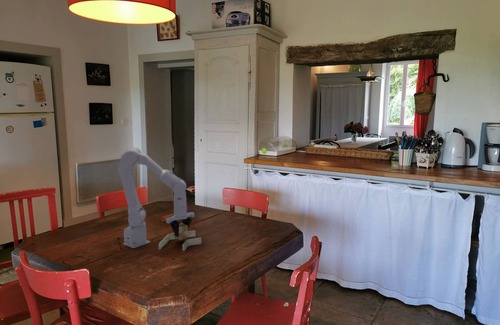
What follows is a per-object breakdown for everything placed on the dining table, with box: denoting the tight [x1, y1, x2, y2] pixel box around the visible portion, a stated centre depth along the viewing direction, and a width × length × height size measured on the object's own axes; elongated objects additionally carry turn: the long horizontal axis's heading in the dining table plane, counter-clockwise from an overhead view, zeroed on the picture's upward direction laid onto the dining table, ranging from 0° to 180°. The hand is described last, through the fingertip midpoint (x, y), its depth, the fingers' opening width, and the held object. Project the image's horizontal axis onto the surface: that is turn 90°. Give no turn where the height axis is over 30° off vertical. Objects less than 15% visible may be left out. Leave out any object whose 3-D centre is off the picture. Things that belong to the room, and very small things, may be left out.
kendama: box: [159, 205, 190, 223], centre depth 208 cm, size 6×6×20 cm
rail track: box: [158, 230, 202, 252], centre depth 168 cm, size 22×17×3 cm
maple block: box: [174, 222, 189, 241], centre depth 169 cm, size 4×4×6 cm
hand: (181, 234), depth 169 cm, fingers closed on maple block, 4 cm apart
